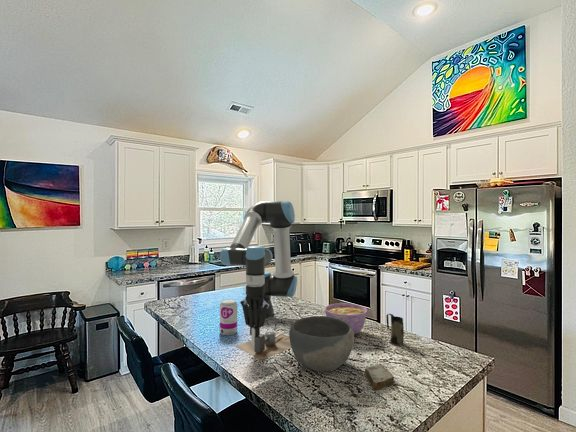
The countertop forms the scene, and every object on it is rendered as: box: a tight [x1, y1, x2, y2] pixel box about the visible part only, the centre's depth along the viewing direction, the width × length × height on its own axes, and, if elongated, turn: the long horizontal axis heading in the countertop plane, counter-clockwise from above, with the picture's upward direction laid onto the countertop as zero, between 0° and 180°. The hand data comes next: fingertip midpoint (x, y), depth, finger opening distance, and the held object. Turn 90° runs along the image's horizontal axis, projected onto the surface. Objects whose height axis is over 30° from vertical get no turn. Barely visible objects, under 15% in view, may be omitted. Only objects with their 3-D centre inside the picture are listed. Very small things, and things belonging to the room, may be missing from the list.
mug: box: [386, 313, 405, 347], centre depth 145 cm, size 8×6×12 cm
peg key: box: [254, 331, 284, 353], centre depth 140 cm, size 21×4×6 cm, turn 153°
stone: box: [364, 363, 395, 392], centre depth 113 cm, size 15×8×3 cm, turn 1°
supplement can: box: [219, 298, 238, 336], centre depth 158 cm, size 8×8×15 cm
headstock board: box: [234, 331, 292, 360], centre depth 141 cm, size 24×20×2 cm
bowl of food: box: [324, 302, 368, 335], centre depth 157 cm, size 20×20×12 cm
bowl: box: [288, 315, 355, 373], centre depth 124 cm, size 24×24×15 cm
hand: (254, 343), depth 133 cm, fingers closed
